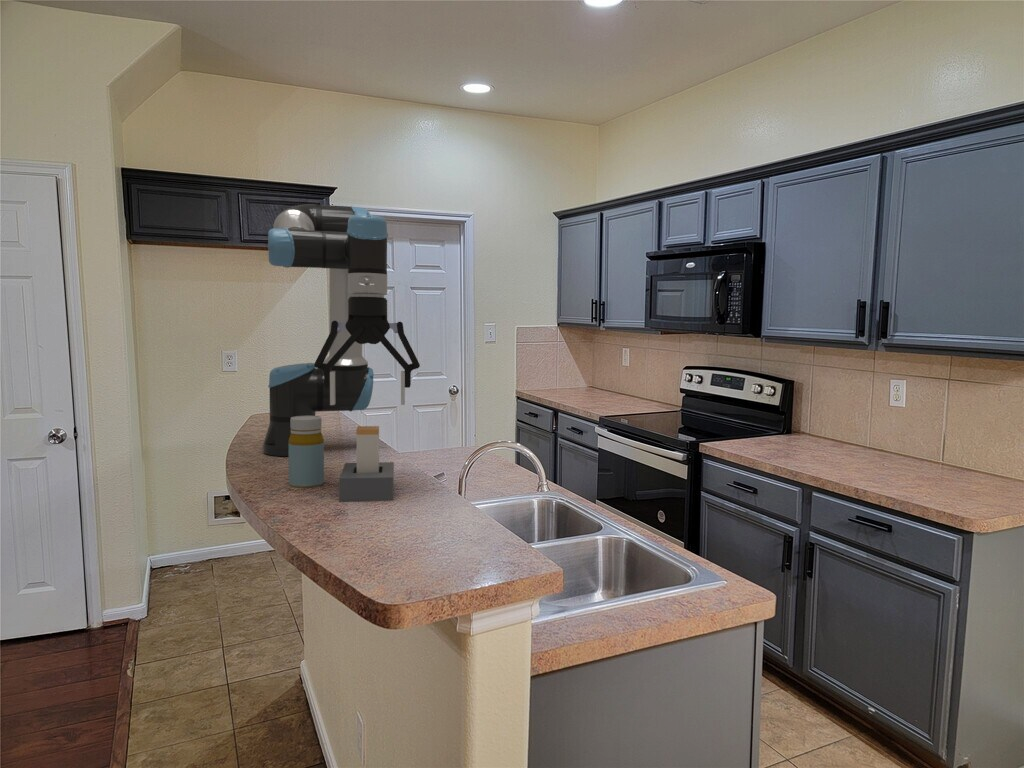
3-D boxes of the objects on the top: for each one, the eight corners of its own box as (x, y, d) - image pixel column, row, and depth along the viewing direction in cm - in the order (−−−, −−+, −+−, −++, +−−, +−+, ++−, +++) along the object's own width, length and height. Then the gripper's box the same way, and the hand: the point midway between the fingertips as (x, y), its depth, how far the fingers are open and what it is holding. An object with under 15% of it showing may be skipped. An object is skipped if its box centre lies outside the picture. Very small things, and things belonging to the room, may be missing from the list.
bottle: (313, 493, 137) (313, 420, 136) (282, 491, 138) (281, 419, 137) (329, 485, 144) (329, 416, 142) (299, 483, 145) (299, 414, 144)
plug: (358, 489, 137) (357, 426, 136) (379, 489, 138) (379, 426, 136) (356, 494, 133) (356, 429, 132) (378, 494, 134) (378, 429, 132)
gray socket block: (345, 488, 141) (345, 462, 141) (393, 487, 143) (393, 462, 143) (339, 506, 128) (339, 478, 127) (392, 505, 129) (392, 477, 129)
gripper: (298, 294, 126) (300, 406, 128) (432, 297, 130) (432, 406, 132) (304, 295, 133) (305, 402, 135) (431, 298, 137) (430, 401, 139)
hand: (368, 404), depth 133 cm, fingers open, 13 cm apart
